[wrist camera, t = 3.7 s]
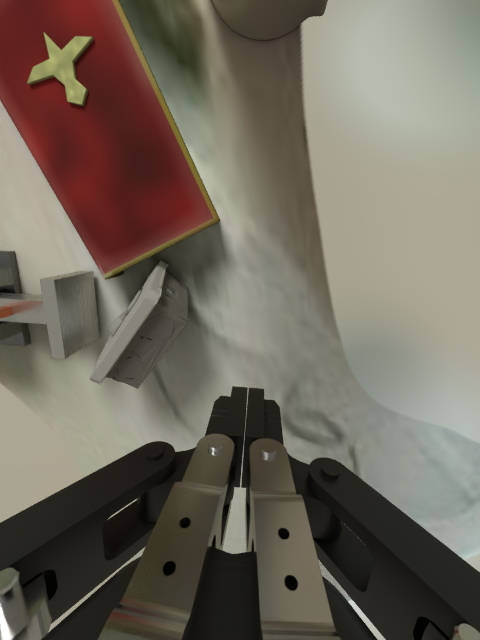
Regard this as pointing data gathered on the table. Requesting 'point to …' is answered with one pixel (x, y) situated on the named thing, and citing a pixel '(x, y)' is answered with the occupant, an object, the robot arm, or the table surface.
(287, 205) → the table surface
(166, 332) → the electrical switch
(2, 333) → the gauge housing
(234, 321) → the table surface
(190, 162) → the hardcover book
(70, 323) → the plunger
